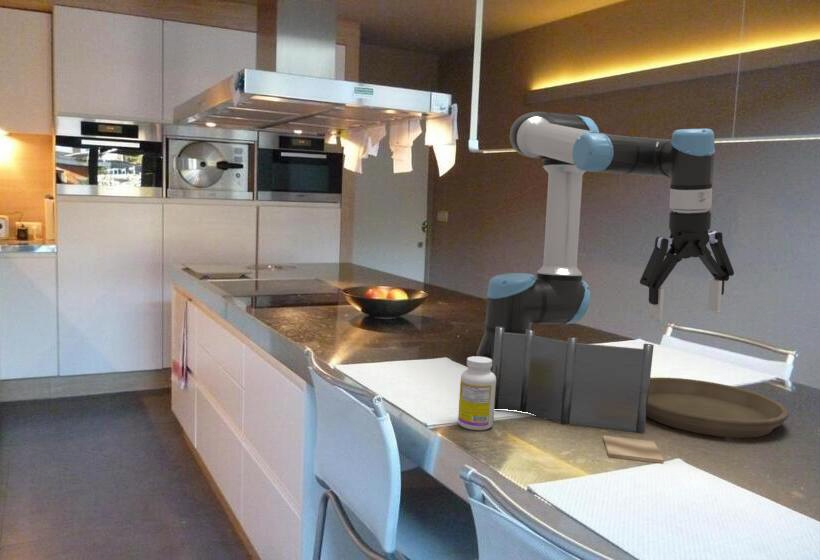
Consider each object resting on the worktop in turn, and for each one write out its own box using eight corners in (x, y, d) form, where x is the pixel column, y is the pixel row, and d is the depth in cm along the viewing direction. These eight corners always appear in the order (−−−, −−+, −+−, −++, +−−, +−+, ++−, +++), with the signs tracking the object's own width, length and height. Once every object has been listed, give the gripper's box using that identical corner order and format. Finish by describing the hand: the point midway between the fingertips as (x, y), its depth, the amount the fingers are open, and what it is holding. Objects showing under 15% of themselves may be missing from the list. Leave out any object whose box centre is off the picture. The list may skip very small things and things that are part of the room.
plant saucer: (669, 387, 165) (671, 368, 164) (809, 424, 142) (812, 403, 141) (596, 409, 144) (598, 388, 143) (746, 457, 121) (749, 432, 121)
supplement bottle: (470, 416, 133) (475, 353, 132) (499, 425, 129) (504, 359, 128) (450, 424, 128) (455, 358, 126) (479, 434, 124) (485, 365, 122)
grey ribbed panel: (489, 407, 140) (495, 326, 138) (640, 423, 135) (649, 339, 133) (488, 416, 134) (494, 331, 132) (645, 433, 130) (654, 346, 127)
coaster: (602, 438, 125) (603, 435, 125) (653, 444, 124) (654, 441, 124) (608, 456, 117) (608, 453, 117) (663, 463, 115) (663, 459, 115)
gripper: (646, 218, 125) (643, 328, 130) (757, 206, 132) (750, 311, 137) (622, 213, 132) (621, 318, 137) (729, 202, 139) (724, 303, 144)
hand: (685, 315), depth 137 cm, fingers open, 13 cm apart
